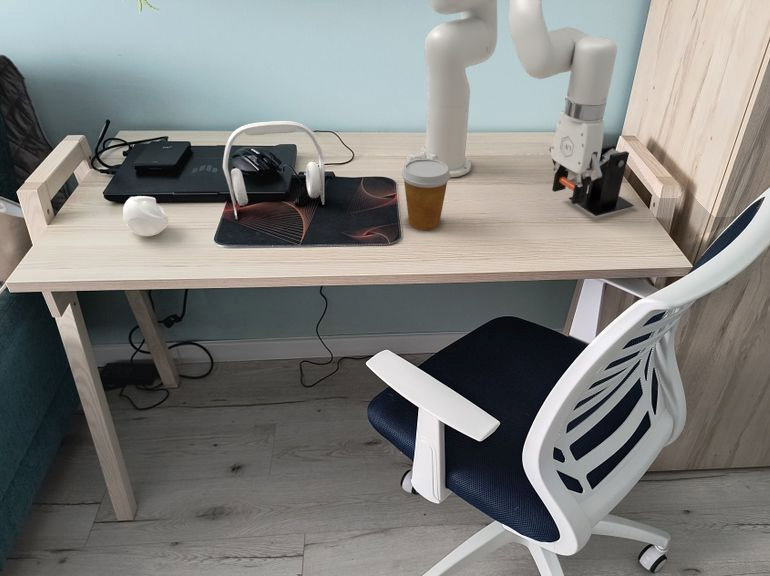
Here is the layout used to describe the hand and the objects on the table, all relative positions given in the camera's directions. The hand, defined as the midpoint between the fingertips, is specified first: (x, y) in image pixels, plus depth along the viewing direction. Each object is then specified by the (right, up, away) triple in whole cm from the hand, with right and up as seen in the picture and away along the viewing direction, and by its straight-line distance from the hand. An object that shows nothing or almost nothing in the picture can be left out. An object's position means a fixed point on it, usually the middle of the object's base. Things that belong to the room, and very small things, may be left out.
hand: (568, 195), depth 134 cm
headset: (-60, -2, 0) cm, 61 cm away
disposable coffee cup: (-30, -6, -2) cm, 31 cm away
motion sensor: (-83, -10, -10) cm, 84 cm away
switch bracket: (+9, -1, +7) cm, 11 cm away
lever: (+5, +4, 0) cm, 7 cm away
